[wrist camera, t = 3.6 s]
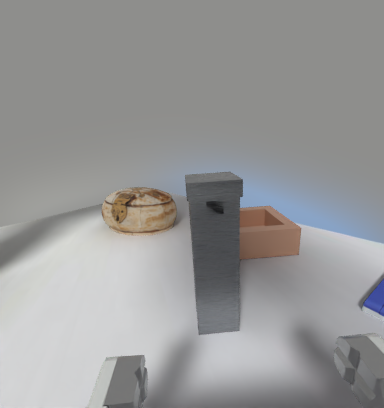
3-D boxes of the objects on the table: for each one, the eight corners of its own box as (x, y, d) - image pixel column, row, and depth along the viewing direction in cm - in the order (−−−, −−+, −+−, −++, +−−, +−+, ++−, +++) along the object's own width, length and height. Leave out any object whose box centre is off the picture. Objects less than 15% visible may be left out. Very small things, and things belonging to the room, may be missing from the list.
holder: (226, 260, 28) (226, 233, 27) (215, 230, 37) (214, 210, 36) (298, 254, 28) (301, 227, 27) (268, 226, 38) (269, 205, 37)
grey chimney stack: (197, 336, 17) (185, 183, 13) (194, 302, 21) (184, 175, 17) (241, 332, 17) (242, 179, 14) (231, 299, 21) (229, 171, 17)
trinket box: (110, 218, 48) (104, 185, 46) (173, 211, 50) (170, 179, 48) (95, 245, 35) (85, 201, 33) (180, 233, 38) (177, 192, 35)
